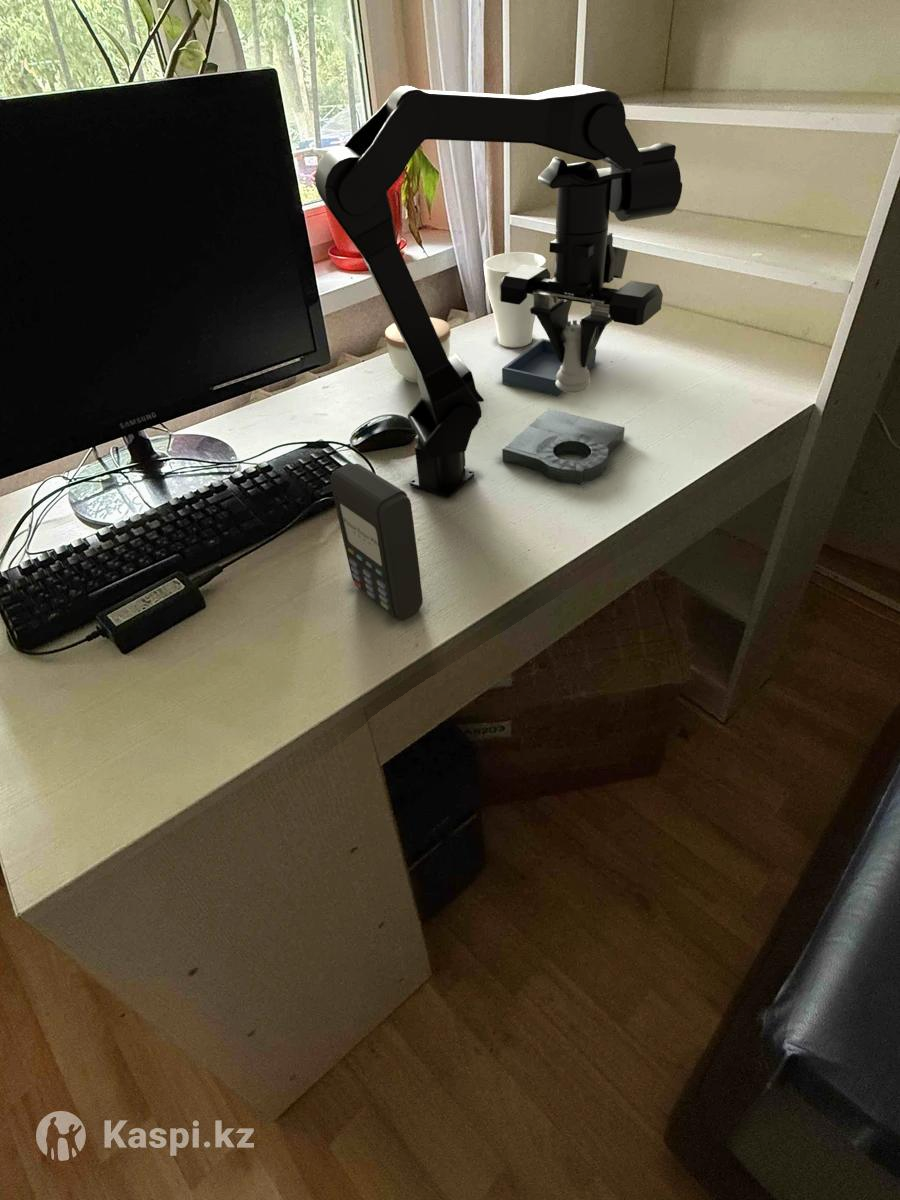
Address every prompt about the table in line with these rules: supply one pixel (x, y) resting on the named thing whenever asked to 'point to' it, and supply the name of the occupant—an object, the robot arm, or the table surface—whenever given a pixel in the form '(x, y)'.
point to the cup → (511, 317)
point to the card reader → (378, 538)
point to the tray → (536, 369)
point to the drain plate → (564, 446)
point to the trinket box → (401, 354)
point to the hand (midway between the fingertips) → (573, 363)
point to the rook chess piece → (572, 362)
